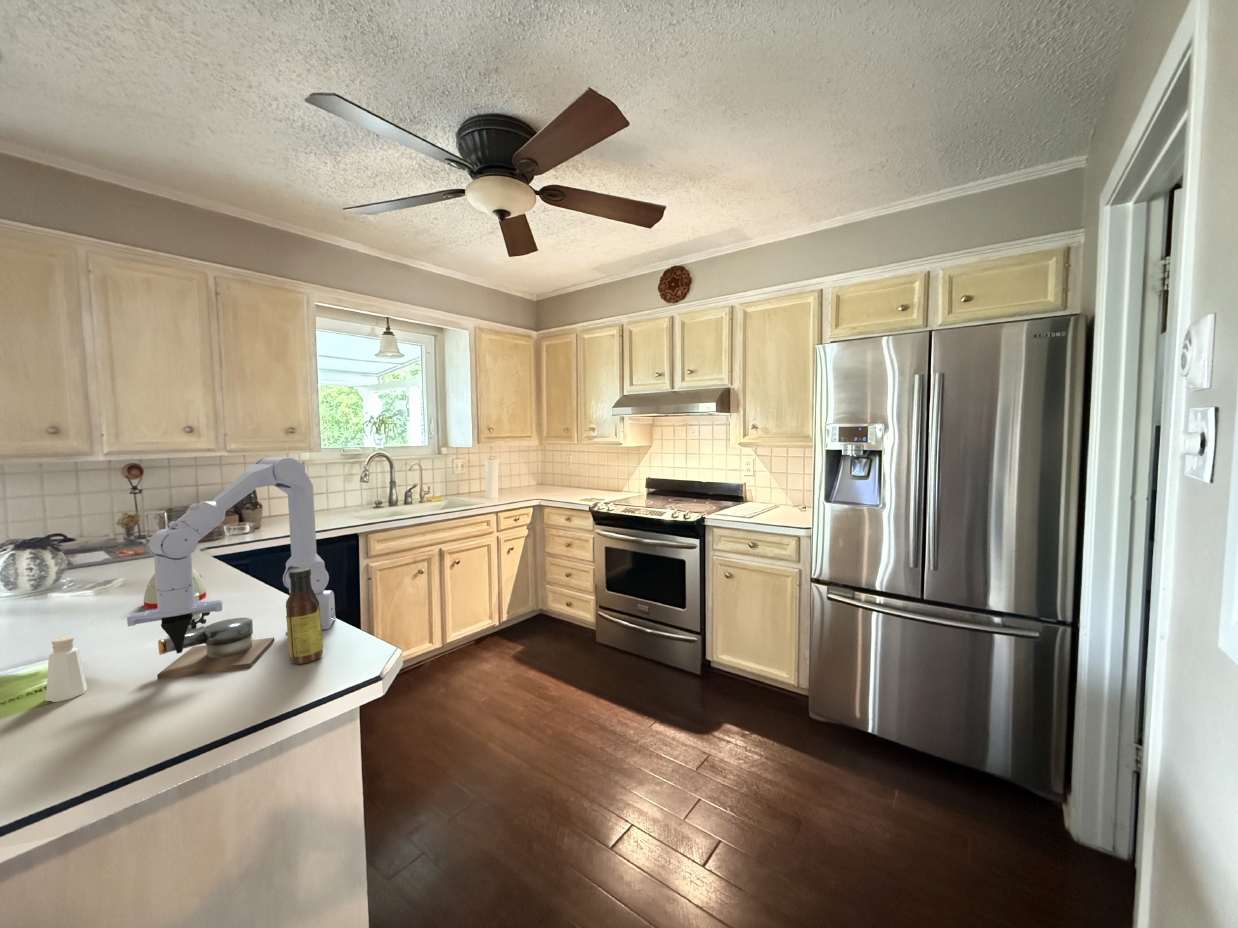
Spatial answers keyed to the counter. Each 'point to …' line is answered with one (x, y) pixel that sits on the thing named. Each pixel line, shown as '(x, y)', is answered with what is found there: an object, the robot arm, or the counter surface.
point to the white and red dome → (151, 593)
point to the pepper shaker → (65, 671)
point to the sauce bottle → (303, 619)
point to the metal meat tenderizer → (213, 634)
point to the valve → (198, 615)
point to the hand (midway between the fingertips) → (179, 651)
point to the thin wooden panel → (217, 658)
